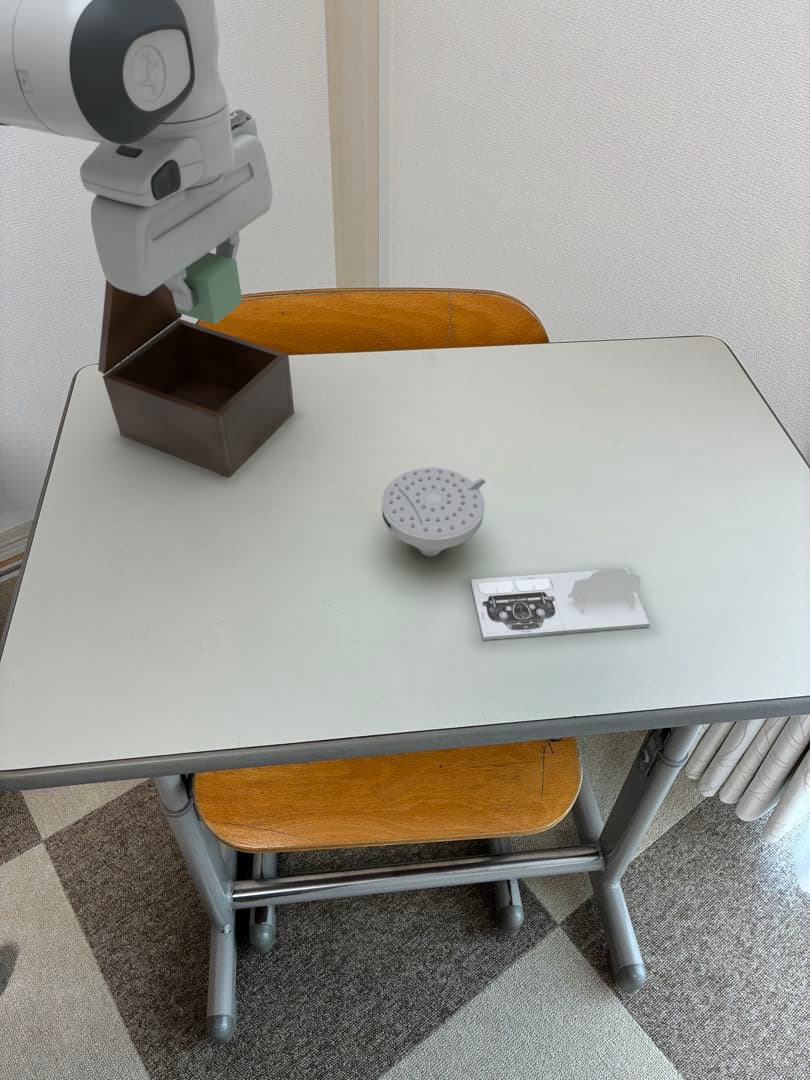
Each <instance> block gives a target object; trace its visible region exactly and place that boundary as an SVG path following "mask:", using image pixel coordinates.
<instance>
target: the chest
mask: <svg viewBox="0 0 810 1080" xmlns="http://www.w3.org/2000/svg"><path fill="white" fill-rule="evenodd" d="M291 377H292V376H291V368H290V357H289V354H288V353H287V352H282V351H279V350H277V349H274V348H270V347H267V346H264V345H261V344H258V343H255V342H252V341H250V340H245V339H243V338H239V337H237V336H234V335H230V334H227V333H224V332H220V331H219V330H215V329H212V328H209V327H206V326H202V325H200V324H197V323H193V322H191V321H187V320H185V319H181V318H179V319H178V320H177V321H175V322H174V323H173V324H171V325H170V326H169V327H167V328H166V329H165V330H163V331H162V332H161V333H159V334H158V335H157V336H155V337H154V338H153V339H151V340H150V341H149V342H147V343H146V344H144V345H143V346H142V347H140V348H139V349H138V350H136V351H135V352H134V353H132V354H131V355H130V356H128V357H127V358H126V359H124V360H123V361H122V362H120V363H119V364H118V365H116V366H115V367H114V368H112V369H111V370H110V371H108V372H107V373H106V374H103V375H102V379H103V382H104V386H105V389H106V393H107V395H108V398H109V401H110V405H111V408H112V412H113V414H114V417H115V421H116V424H117V427H118V431H119V433H120V436H122V437H125V438H128V439H131V440H133V441H135V442H138V443H140V444H143V445H146V446H148V447H150V448H153V449H155V450H158V451H161V452H164V453H166V454H168V455H171V456H173V457H177V458H179V459H181V460H184V461H186V462H189V463H192V464H194V465H197V466H199V467H201V468H204V469H207V470H209V471H212V472H215V473H217V474H220V475H222V476H224V477H228V478H230V477H231V476H232V475H233V474H234V473H235V472H236V471H237V470H238V469H239V468H240V467H241V466H242V465H243V464H244V463H245V462H246V461H247V460H248V459H249V458H251V456H253V454H254V453H255V452H256V451H257V450H258V449H259V448H260V447H261V446H262V445H263V444H264V443H265V442H266V441H267V440H269V438H270V437H271V436H273V434H274V433H275V432H276V431H277V430H278V429H279V428H280V427H281V426H282V425H283V424H284V423H285V422H286V421H287V420H288V419H289V418H290V417H291V416H293V414H294V413H295V408H294V406H295V405H294V395H293V387H292V378H291Z"/></svg>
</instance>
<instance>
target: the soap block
mask: <svg viewBox="0 0 810 1080" xmlns="http://www.w3.org/2000/svg"><path fill="white" fill-rule="evenodd" d="M185 269H186V274H187V276H186V278H185V279H183V281H184V282H185V284H186V285H187V286H188V287H193V288H196V289H197V294H198V299H199V304H198V305H197V306H195V307H194V308H193V309H191V310H190V311H184V310H181V309H178V308H177V307H176V309H177V312H178V313H181V314H182V315H184V316H187V317H190V318H193V319H197V320H200V321H203V322H206V323H209V324H211V325H216V324H218V323H219V322H220V321H222V320H223V319H224V318H225V317H227V316H228V315H229V314H231V313H232V312H233V311H234V310H235V309H237V308H238V307H239V306H241V305H242V304H243V297H242V290H241V284H240V277H239V269H238V264H237V260H236V259H235V260H234V259H231V258H227V257H224V256H220V255H217V254H216V253H212V252H211V251H210V252H208V253H207V254H205V255H204V256H202V257H201V258H200V259H198V260H197V261H195V262H194V263H192V264H191V265H189V266H188V267H187V268H185Z"/></svg>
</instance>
